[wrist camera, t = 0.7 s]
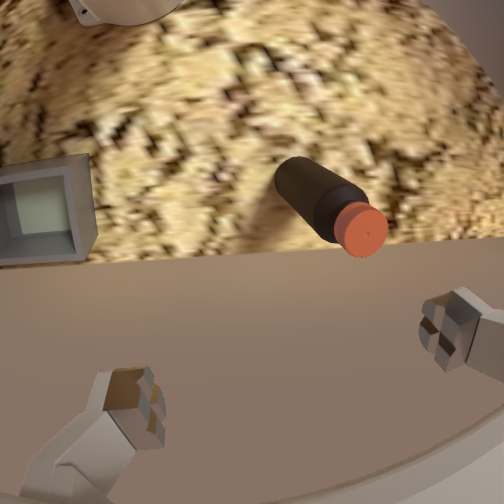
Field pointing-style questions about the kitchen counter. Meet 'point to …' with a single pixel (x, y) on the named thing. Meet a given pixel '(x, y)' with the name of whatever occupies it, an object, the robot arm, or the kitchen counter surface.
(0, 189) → the walled bin
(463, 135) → the kitchen counter surface
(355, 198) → the vinegar
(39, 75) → the kitchen counter surface
